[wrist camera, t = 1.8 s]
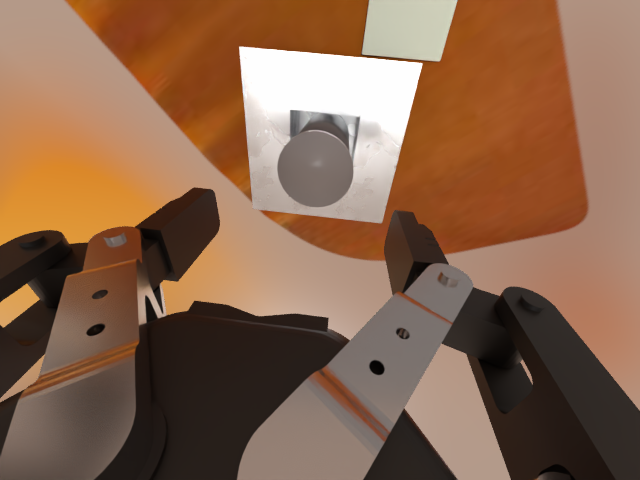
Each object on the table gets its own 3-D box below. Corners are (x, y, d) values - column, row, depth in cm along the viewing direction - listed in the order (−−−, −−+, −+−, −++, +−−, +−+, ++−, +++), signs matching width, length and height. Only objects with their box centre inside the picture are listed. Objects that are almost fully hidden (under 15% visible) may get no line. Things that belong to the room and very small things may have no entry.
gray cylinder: (301, 158, 27) (277, 203, 18) (302, 106, 24) (276, 127, 15) (347, 163, 27) (347, 211, 18) (354, 111, 24) (359, 136, 15)
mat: (361, 54, 23) (361, 54, 22) (377, -60, 19) (378, -63, 18) (438, 61, 23) (440, 61, 22) (470, -53, 19) (473, -56, 18)
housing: (270, 183, 31) (253, 208, 25) (265, 52, 24) (239, 46, 18) (375, 194, 30) (381, 223, 25) (403, 65, 23) (422, 63, 17)
